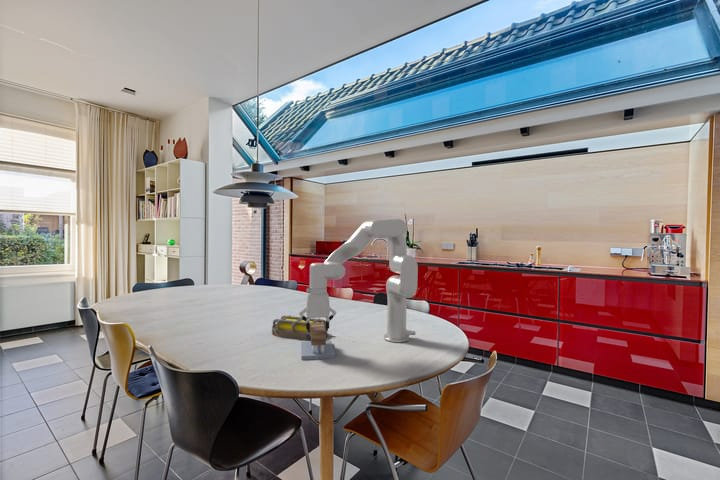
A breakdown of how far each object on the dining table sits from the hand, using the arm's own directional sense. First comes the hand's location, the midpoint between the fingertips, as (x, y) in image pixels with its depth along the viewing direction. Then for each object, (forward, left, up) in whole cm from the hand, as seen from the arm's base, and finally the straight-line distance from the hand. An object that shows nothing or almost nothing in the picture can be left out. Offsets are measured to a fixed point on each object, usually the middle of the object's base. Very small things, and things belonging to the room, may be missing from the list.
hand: (317, 330), depth 145 cm
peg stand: (0, 0, -9) cm, 9 cm away
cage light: (+8, -26, -10) cm, 29 cm away
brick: (0, 0, -4) cm, 4 cm away
